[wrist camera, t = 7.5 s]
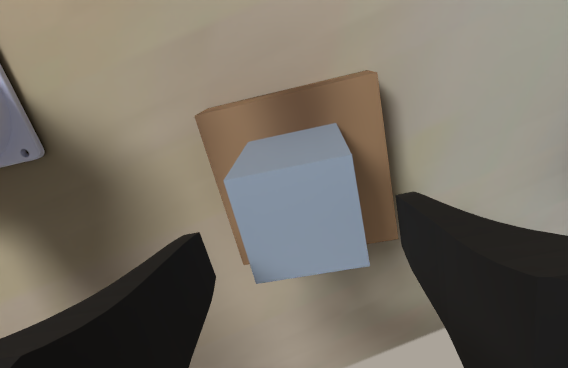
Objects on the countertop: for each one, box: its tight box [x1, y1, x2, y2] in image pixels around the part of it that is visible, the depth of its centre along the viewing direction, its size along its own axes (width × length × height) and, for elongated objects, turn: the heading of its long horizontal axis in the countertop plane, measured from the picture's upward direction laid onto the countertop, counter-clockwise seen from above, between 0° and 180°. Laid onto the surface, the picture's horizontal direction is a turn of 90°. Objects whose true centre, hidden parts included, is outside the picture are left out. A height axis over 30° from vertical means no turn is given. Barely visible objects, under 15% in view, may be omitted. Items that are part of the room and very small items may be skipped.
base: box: [195, 70, 398, 265], centre depth 18 cm, size 9×9×2 cm
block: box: [223, 123, 370, 284], centre depth 14 cm, size 4×4×6 cm
